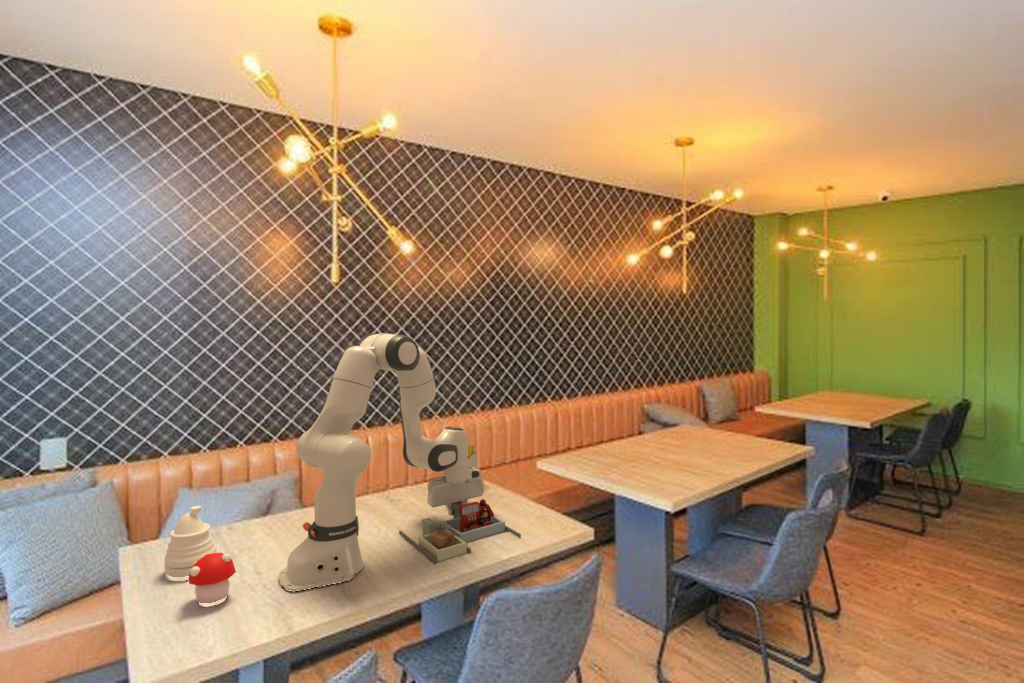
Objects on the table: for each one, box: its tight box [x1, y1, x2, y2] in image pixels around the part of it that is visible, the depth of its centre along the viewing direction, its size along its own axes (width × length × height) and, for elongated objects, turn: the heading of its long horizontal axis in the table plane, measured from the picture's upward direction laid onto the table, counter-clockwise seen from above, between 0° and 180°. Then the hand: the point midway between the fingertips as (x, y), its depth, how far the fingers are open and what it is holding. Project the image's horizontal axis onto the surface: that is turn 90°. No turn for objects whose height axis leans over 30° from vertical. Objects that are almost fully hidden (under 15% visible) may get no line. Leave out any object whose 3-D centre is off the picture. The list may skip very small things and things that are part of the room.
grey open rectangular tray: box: [440, 502, 506, 543], centre depth 186 cm, size 17×18×6 cm
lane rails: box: [398, 524, 522, 565], centre depth 180 cm, size 30×26×1 cm
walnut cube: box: [431, 530, 455, 550], centre depth 170 cm, size 5×5×5 cm
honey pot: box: [164, 505, 218, 577], centre depth 160 cm, size 13×13×18 cm
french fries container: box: [467, 443, 479, 470], centre depth 226 cm, size 5×11×18 cm, turn 40°
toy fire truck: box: [459, 499, 495, 533], centre depth 182 cm, size 7×12×10 cm, turn 124°
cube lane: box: [418, 517, 468, 563], centre depth 172 cm, size 10×18×6 cm, turn 34°
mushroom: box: [188, 552, 237, 603], centre depth 143 cm, size 11×11×12 cm
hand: (456, 513), depth 193 cm, fingers closed on grey open rectangular tray, 2 cm apart
